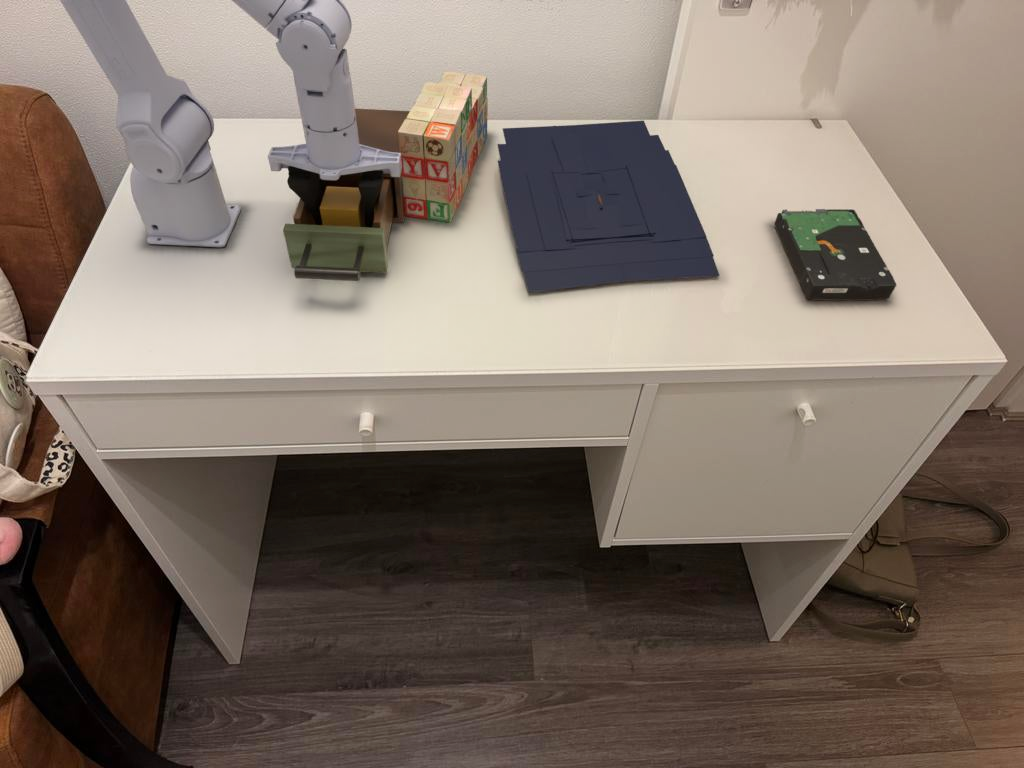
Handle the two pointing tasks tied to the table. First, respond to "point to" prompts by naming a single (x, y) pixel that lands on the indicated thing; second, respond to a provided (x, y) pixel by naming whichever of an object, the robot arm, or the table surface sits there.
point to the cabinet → (383, 143)
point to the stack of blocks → (442, 144)
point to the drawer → (341, 239)
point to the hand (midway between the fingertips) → (345, 221)
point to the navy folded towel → (599, 207)
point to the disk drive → (834, 255)
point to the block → (342, 207)
